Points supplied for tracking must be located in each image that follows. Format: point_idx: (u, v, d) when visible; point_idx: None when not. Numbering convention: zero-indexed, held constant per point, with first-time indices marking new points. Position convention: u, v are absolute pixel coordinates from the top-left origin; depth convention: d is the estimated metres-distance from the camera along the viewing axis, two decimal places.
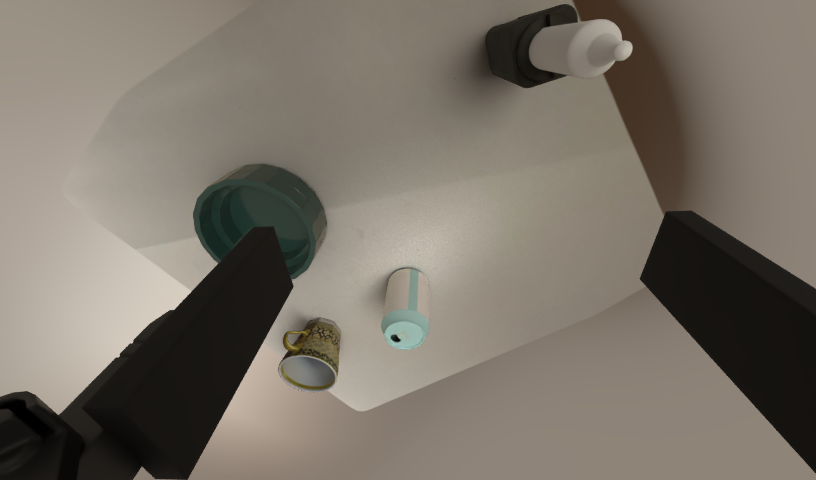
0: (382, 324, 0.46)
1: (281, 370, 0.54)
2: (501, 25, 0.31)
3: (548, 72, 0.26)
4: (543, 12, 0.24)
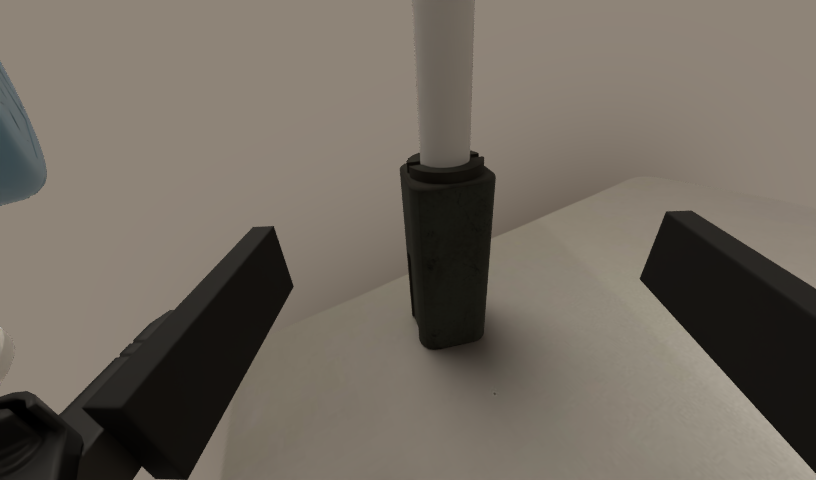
0: None
1: None
2: (417, 285, 0.21)
3: None
4: (404, 175, 0.19)
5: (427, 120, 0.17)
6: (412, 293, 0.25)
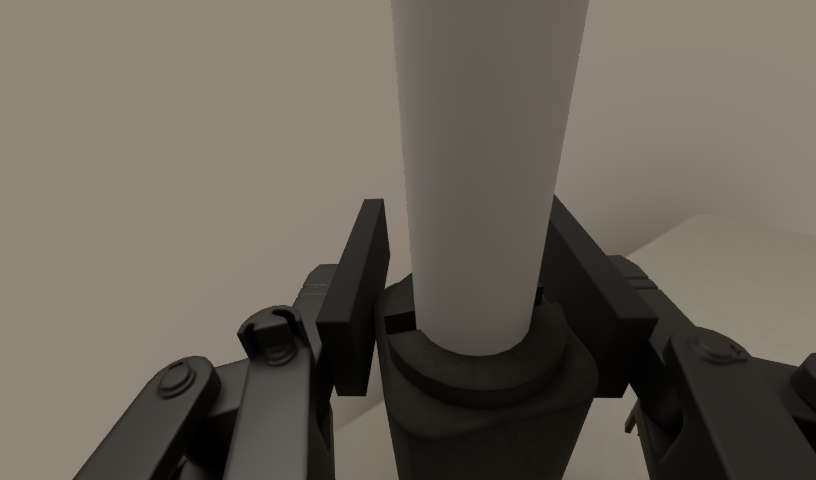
0: None
1: None
2: None
3: None
4: (379, 342, 0.08)
5: (432, 253, 0.06)
6: None
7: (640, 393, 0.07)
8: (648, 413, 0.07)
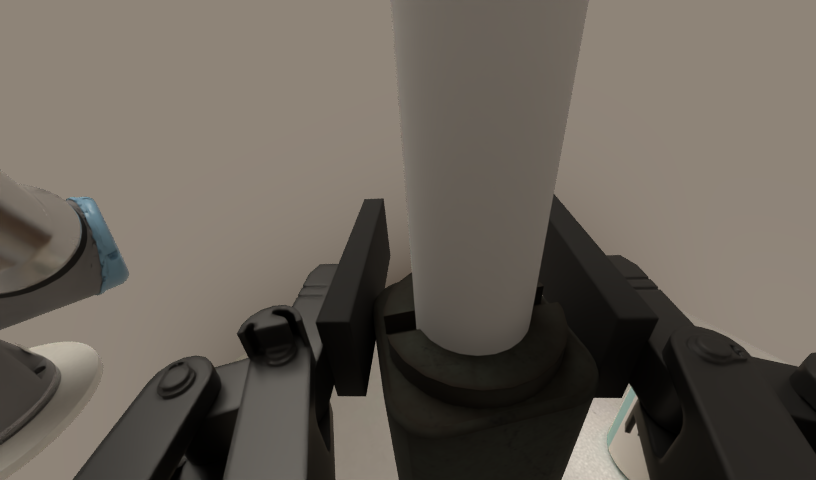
0: None
1: None
2: None
3: None
4: (379, 342, 0.08)
5: (432, 253, 0.06)
6: None
7: (640, 393, 0.07)
8: (648, 414, 0.07)
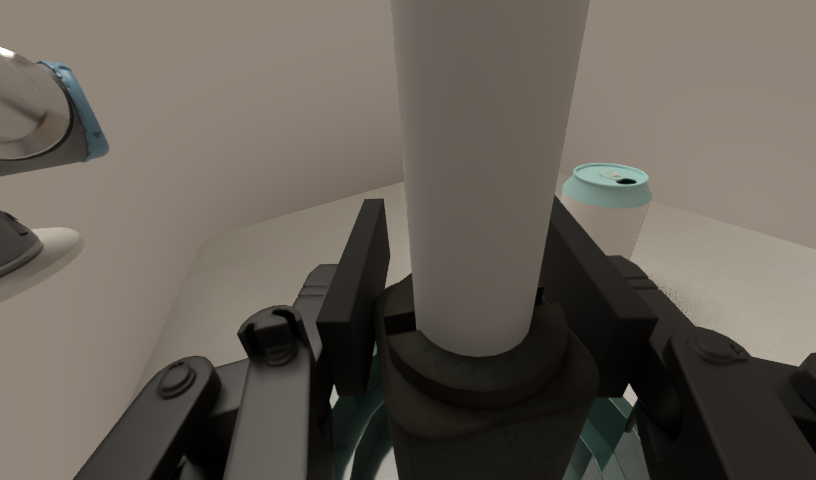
0: (612, 203, 0.26)
1: None
2: None
3: None
4: (379, 343, 0.08)
5: (432, 254, 0.06)
6: None
7: (640, 393, 0.07)
8: (648, 413, 0.07)
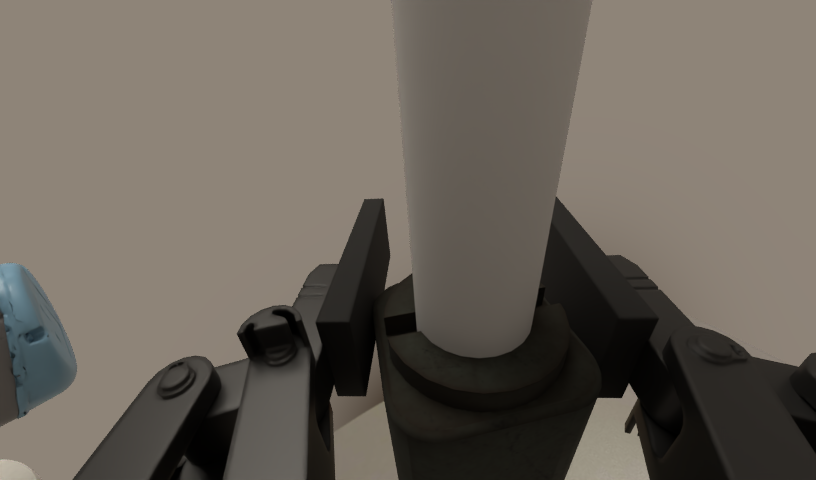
0: None
1: None
2: None
3: None
4: (379, 344, 0.08)
5: (433, 254, 0.06)
6: None
7: (640, 393, 0.07)
8: (648, 414, 0.07)
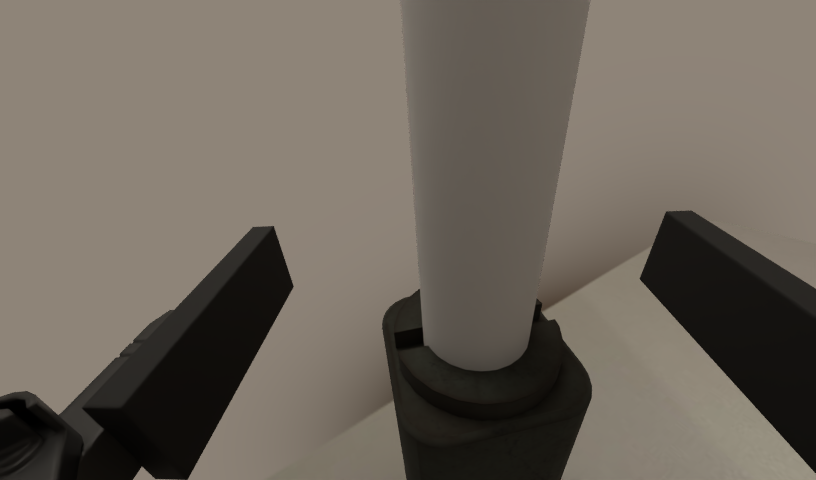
0: None
1: None
2: None
3: None
4: (389, 356, 0.09)
5: (440, 281, 0.07)
6: None
7: None
8: None
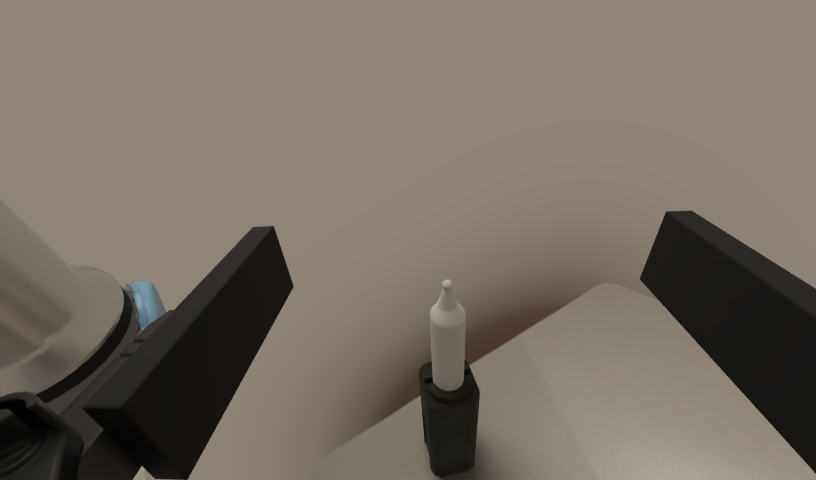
0: None
1: None
2: (429, 444, 0.32)
3: (466, 376, 0.31)
4: (422, 385, 0.30)
5: (438, 369, 0.28)
6: (425, 432, 0.36)
7: None
8: None
